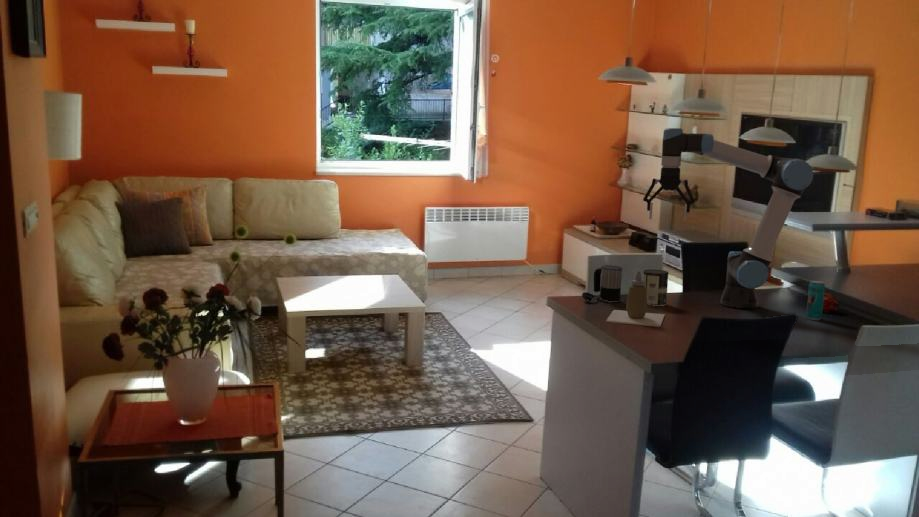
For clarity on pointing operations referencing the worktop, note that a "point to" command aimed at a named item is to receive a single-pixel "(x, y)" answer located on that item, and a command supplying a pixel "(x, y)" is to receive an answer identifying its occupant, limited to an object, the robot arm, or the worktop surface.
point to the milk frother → (607, 283)
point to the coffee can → (656, 286)
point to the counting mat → (648, 319)
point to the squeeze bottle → (637, 298)
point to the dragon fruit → (829, 303)
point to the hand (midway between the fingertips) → (667, 219)
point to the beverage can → (815, 300)
